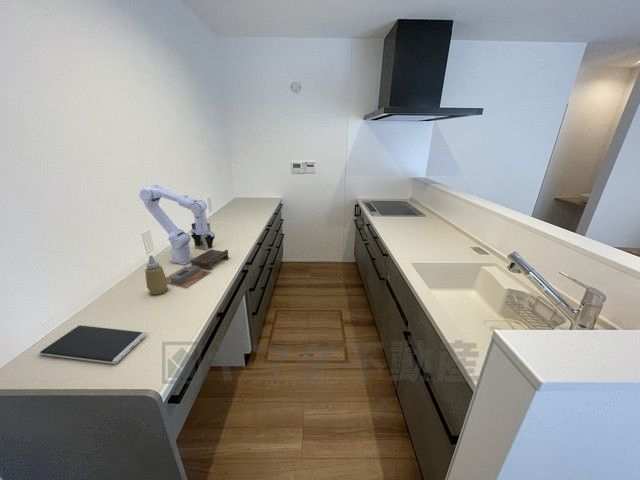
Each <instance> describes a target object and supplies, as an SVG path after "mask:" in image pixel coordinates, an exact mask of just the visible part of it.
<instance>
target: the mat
mask: <svg viewBox="0 0 640 480" xmlns="http://www.w3.org/2000/svg"><path fill="white" fill-rule="evenodd" d="M187 268H188V266H185V267H183V268H181V269H179V270H178V271H176V272H174V273H172V274H170V275H168V276H165V277H166V280H167V284H169V285H172V286H173V285H174V286H178V287H181V288H186V289H187V288H188V287H190V286H191V285H193V284H195V283H196V282H198V281H200V280H201V279H203V278H204V277H206V276H207V275H209V274H210V273H211V271H208V270H204V269H200V271H199V272H197V273H195V274H194V275H192V276H190V277H189V278H187V279H185V280H184V281H182V282H180V283H179V284H178V283H174V282H171V277H172V276H174V275H176V274H177V273H179V272H181V271H183V270H185V269H187Z"/></svg>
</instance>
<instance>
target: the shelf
mask: <svg viewBox="0 0 640 480" xmlns="http://www.w3.org/2000/svg"><path fill="white" fill-rule="evenodd" d="M229 257H230V256H229V250H228V249H225V250H218V249H213V248H210V249H208V250H206V251H205V252H204V253H201V254H199V255H198V256H195V257H193V258H194V259H192V260H191V262H190V266H192V265H194V266H198V267H199V269H200V270H205V271H211V270H212V265H213V264H214V263H216V262H218V261H219V260H221V259H223V260H229V259H230V258H229Z"/></svg>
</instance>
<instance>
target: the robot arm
mask: <svg viewBox="0 0 640 480" xmlns="http://www.w3.org/2000/svg"><path fill="white" fill-rule="evenodd" d="M139 198H140V199H141V201H142V202H143V204H144V207H145V209H147V211H148V212H149V213H150V214H151V215H152V217H153V218H154V219H155V220H156V221H157V222H158V224H159V225H160V226H161V227H162V228H163V230H165V232H166V233H167V234H168V237H167V238H168V241H169V243H170V246H172V247H171V248H170V254H171V258H172V260H171V263H174V264H179V265H187V264H188V263H191V260H192V259H194V258H195V257H192V254H191V248H190V242H191V238H192V239H193V242H194V241H195V242H196V244H197V246H201V235H207V237H205V240H206V242H207V245H208V249H207V250H211V249H213V247H212V246H213V244H214V243H213V242H214V240H215V237H216V234H215V232H214V231H212V230H211V231H209V230H208V227H207V223H208V221H207V214H206V210H207V207H208V206H207V203H206V201H204V200H201V199H199V200H197V199H196V198H192V197H189V196H188V195H187V194H183V195H178V194H176V193H174V192H172V191H170V190H167V189H166V188H164V187H162V186H159V185H157V184H155V185H152V186H147V187H143V188H141V189H140V190H139ZM162 198H164V199H166V200H169V201H172V202H175V203H177V204H178V206H180V207H181V208H182V207H183V208H185V209H188V210H190V211H191V213H192V214H193V218H194V223H195V225H196V229H192V228H191V229H190V233H191V234H188V233H187V232H186V231H185V230H184V229H180V228H178V226H177V225H176V224H175V223H174V222H173V221H172V219H171V218H170V217H169V216H168V215H167V213H166V212H165V211H164V210H163V209H162V208H161V207H160V205H159V204H160V200H161V199H162Z"/></svg>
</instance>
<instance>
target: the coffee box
mask: <svg viewBox="0 0 640 480" xmlns="http://www.w3.org/2000/svg"><path fill="white" fill-rule="evenodd" d="M190 225H191V230H192V229H196V225H195V222H193V223H191V224H190ZM207 227H208V230H209V231H211V232H212V230H211V223H210V222H207ZM205 237H207V235H201V246H197V244H196V242H195V241H194V240H193V242H194V248H195V249H199V250H204V251H208V250H209V249H208V245H207V242H206V240H205ZM212 248H213V245H212Z"/></svg>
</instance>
